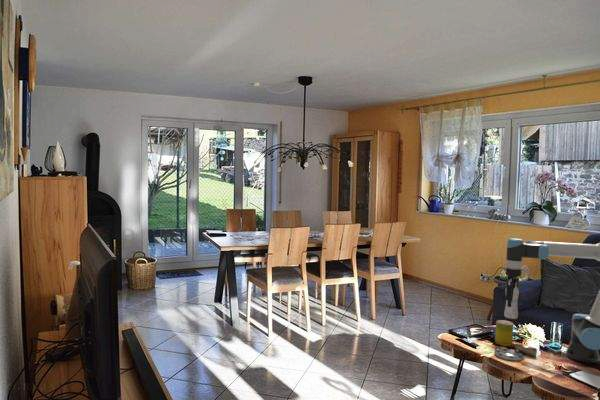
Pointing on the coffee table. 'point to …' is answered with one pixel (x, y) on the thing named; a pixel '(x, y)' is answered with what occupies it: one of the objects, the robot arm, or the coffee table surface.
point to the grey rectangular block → (526, 350)
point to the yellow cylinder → (504, 333)
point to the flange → (508, 354)
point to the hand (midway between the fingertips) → (511, 311)
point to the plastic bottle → (514, 310)
